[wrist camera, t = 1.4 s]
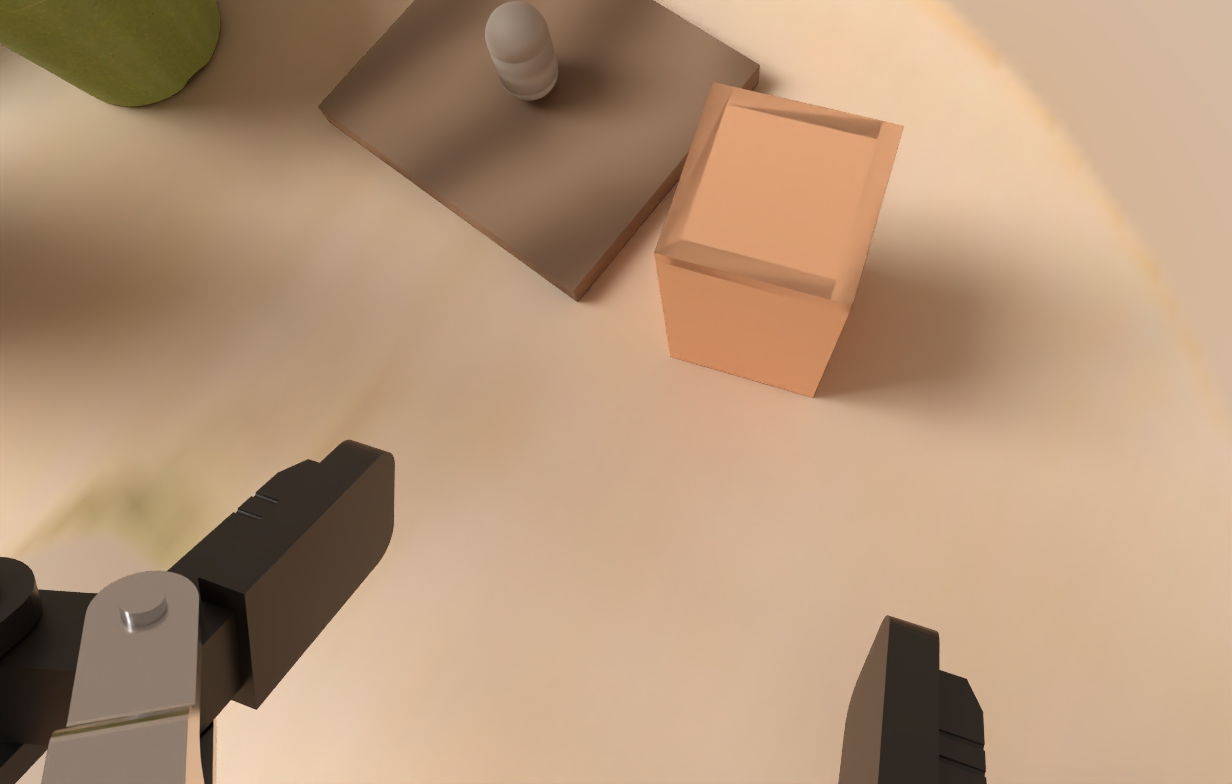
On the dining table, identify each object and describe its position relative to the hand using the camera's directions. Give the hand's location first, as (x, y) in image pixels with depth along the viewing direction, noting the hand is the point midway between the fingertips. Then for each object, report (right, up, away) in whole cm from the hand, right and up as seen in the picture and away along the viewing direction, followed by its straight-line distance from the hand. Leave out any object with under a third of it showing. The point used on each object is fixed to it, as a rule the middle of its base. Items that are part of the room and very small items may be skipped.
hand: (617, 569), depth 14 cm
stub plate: (-3, +15, +24) cm, 29 cm away
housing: (+6, +6, +21) cm, 22 cm away
